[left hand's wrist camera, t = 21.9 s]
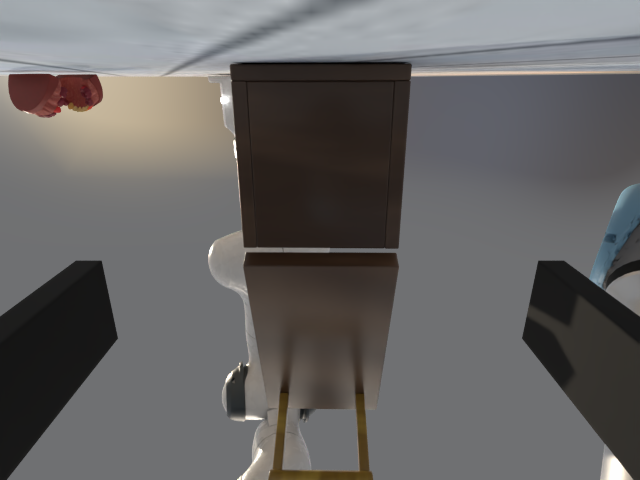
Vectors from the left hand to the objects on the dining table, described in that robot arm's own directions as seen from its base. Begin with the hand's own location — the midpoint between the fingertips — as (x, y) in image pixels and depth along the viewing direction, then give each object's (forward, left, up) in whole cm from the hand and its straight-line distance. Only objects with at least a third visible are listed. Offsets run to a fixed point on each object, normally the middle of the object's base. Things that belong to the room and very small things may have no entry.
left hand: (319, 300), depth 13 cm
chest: (-11, +16, -7) cm, 21 cm away
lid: (-8, +13, +12) cm, 19 cm away
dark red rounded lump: (+4, +43, -7) cm, 44 cm away
